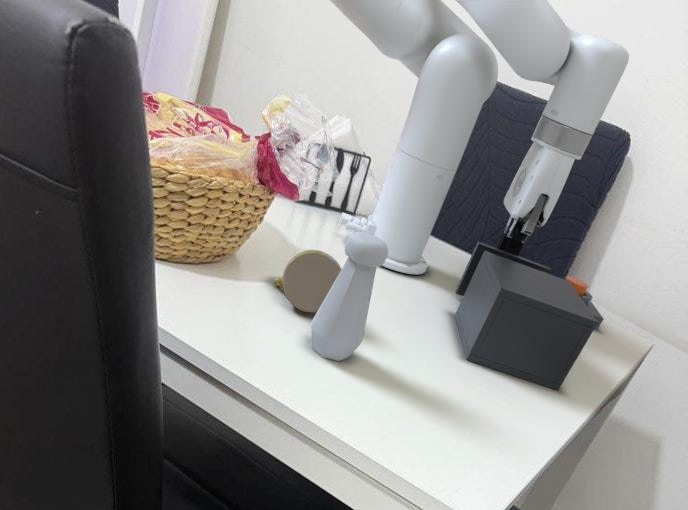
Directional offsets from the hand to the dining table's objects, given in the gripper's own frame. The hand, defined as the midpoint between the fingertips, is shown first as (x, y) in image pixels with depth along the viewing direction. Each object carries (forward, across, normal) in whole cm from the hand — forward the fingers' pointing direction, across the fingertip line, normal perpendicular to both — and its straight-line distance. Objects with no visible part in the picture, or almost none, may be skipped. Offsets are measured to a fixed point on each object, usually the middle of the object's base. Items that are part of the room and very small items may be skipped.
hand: (502, 262), depth 109 cm
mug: (+6, +26, -28) cm, 39 cm away
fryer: (+6, +20, 0) cm, 21 cm away
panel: (+6, -9, +16) cm, 19 cm away
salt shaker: (+6, +38, -25) cm, 45 cm away
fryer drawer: (+5, +9, 0) cm, 10 cm away
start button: (+3, -9, +16) cm, 18 cm away
